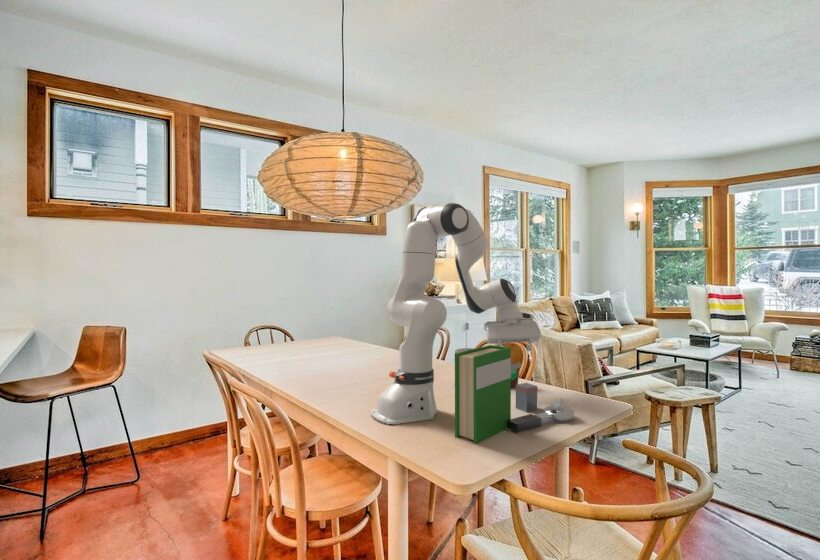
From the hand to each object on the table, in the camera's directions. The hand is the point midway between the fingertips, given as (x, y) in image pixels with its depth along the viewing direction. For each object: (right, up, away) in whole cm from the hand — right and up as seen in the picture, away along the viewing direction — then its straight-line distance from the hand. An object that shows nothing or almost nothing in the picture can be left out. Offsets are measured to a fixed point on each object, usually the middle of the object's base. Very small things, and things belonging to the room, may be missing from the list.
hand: (516, 351), depth 161 cm
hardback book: (-18, -19, -33) cm, 41 cm away
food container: (-1, -17, +15) cm, 23 cm away
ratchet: (+1, -18, -25) cm, 31 cm away
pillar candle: (-16, -17, +21) cm, 32 cm away
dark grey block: (0, -18, -12) cm, 21 cm away
